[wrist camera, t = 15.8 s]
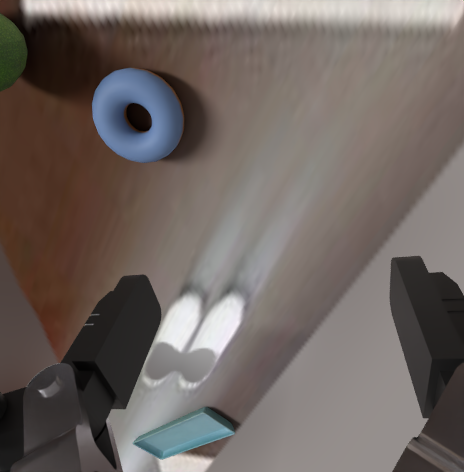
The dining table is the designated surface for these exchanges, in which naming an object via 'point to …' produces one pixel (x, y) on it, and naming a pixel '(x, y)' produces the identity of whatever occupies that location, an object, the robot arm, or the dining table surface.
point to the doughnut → (148, 95)
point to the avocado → (11, 53)
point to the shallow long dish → (185, 433)
